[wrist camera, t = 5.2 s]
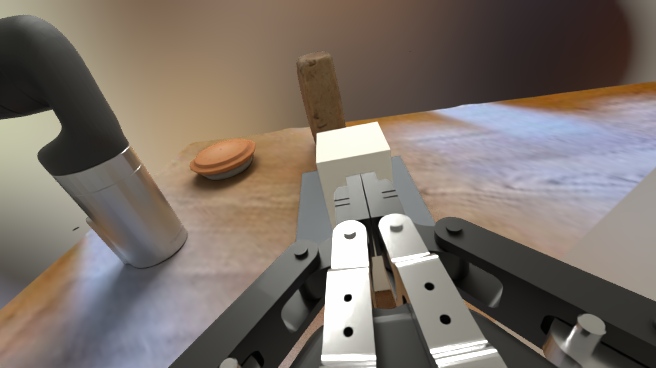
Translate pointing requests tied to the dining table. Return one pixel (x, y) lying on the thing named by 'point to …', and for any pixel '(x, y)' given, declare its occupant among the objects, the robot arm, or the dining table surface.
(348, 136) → the tall cream block
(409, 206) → the mat
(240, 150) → the pie
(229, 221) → the dining table surface
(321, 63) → the tan textured post
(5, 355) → the dining table surface
